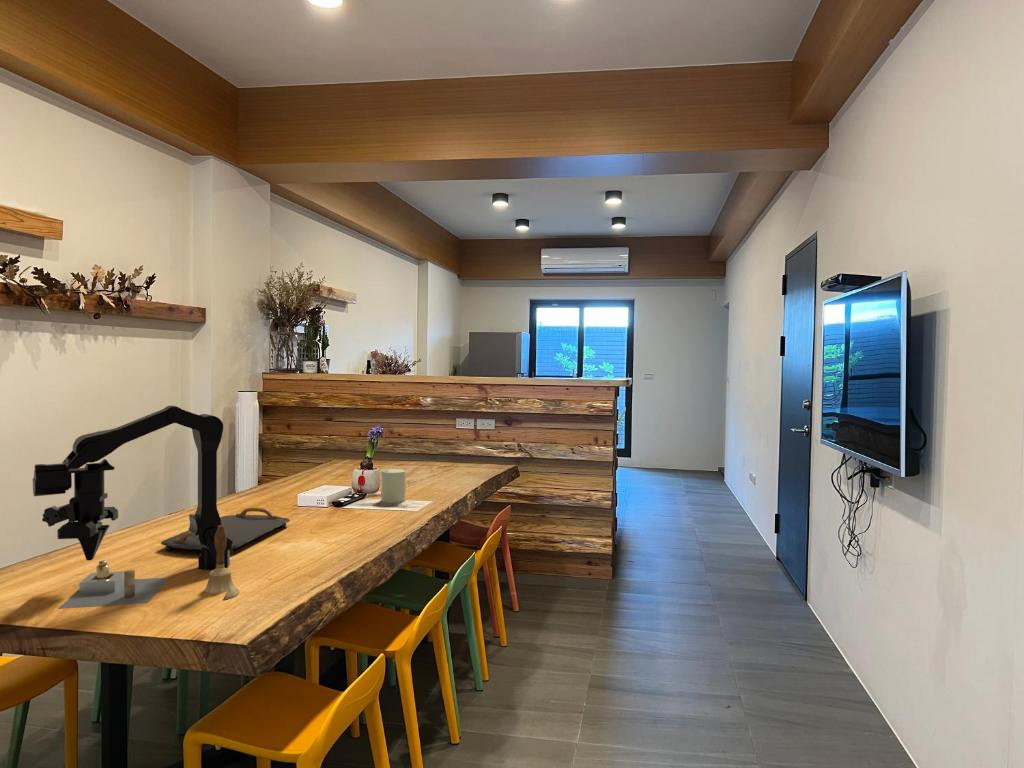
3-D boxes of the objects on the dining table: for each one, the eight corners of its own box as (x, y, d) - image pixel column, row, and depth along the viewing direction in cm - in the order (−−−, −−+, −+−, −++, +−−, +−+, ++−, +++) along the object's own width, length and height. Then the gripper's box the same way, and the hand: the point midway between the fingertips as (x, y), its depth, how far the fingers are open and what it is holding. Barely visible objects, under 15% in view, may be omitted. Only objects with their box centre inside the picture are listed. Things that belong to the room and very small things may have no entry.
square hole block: (125, 581, 155) (125, 571, 155) (114, 592, 148) (114, 580, 148) (91, 583, 154) (91, 572, 153) (79, 594, 147) (79, 582, 147)
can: (379, 498, 259) (380, 467, 259) (403, 497, 262) (403, 467, 261) (382, 503, 250) (382, 471, 250) (407, 502, 253) (407, 471, 253)
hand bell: (244, 588, 156) (245, 521, 156) (231, 601, 148) (231, 530, 148) (208, 588, 156) (209, 520, 156) (193, 601, 148) (193, 530, 147)
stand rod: (136, 594, 147) (136, 569, 147) (133, 597, 145) (133, 572, 145) (126, 595, 147) (125, 570, 146) (123, 598, 145) (122, 573, 144)
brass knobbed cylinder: (110, 585, 152) (110, 559, 152) (106, 589, 150) (106, 562, 150) (98, 586, 152) (98, 560, 152) (95, 589, 149) (94, 563, 149)
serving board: (229, 560, 179) (229, 537, 179) (150, 555, 182) (150, 532, 182) (295, 525, 217) (296, 506, 217) (229, 521, 221) (230, 503, 220)
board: (169, 583, 159) (169, 577, 159) (147, 609, 142) (147, 602, 142) (89, 588, 155) (89, 581, 155) (57, 615, 138) (57, 608, 138)
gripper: (66, 484, 157) (66, 550, 157) (28, 501, 139) (29, 575, 139) (118, 483, 159) (119, 547, 160) (89, 499, 141) (89, 572, 142)
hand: (89, 559), depth 150 cm, fingers closed
